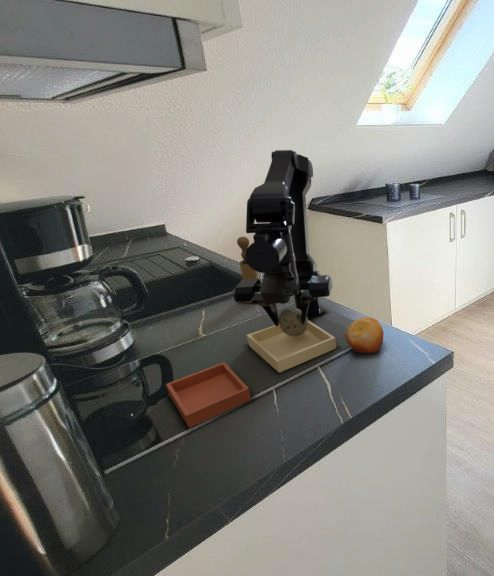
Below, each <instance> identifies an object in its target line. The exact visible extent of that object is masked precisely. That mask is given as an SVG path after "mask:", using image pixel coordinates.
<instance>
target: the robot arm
mask: <svg viewBox="0 0 494 576" xmlns="http://www.w3.org/2000/svg"><path fill="white" fill-rule="evenodd" d="M270 156H271V162H270V165H269V168H268V171H267V174H266V176H265V179H264V182H263V183H262V184H260V185H257V187H256V186H255V188H254V189H253V190H252V191H251V193H250V195H249V198H248V199H247V200H246V202H247V203H246V218H245V219H246V220H245V221H246V222H245V232H246V234H253V236H252V239H253V241H252V243H250V244H249V246H248V248H247V250H246V255H245V259H246V262H247V263H248V265H249V266H250V267H251V268H252V269H253V270H255V271H257V273H261V274H263V278H262V281H261V279H259V278H258V279H246V280H243V279H241V281H240V282H239V283H238V284H237V285H236V286H235V287H234V288H233V290H232V296H233V301H234V302H235V303H244V302H246V301H251V299H253V300H252V303H251V304H252V305H257V306H260V307H261V308H262V309H263V310H264V311H265V313H266V314H267V315H268V316H269V318H270V320H271V321H272V323H273V325H275V326H278V325H279V313H278V309H277V304H281V305H285V304H288V303H289V302H290V300H291V297H293V298H294V304H295V305H294V306H295V308H297V309H299V310H301V319H302V324H303V325H304V324H305V321H306V317H307V318H308V320H309V319H312V318H314V317H318V316H320V315H323V314H326V310H324V309H323V308H321V307H320V306H319V305H320V303H319V298H327V297H330V295H331V292H332V290H333V280H332V277H331V276H330V275H329V274H323V275H322V274H321V273H320V270H318V266H317V263H316V262H315V260H314V258H313V257H312V256H311V255H310V245H309V228H308V213H307V199H306V196H307V194H308V192H309V191H310V189H311V187H312V178H313V177H314V168H313V163H312V162H311V159H310V158H309V157H307V156H304V155H301V154H299V153H298V152H297V151H296V150H294V149H275V151H272V152H271V155H270ZM255 222H256V223H255Z"/></svg>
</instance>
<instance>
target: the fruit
mask: <svg viewBox="0 0 494 576" xmlns="http://www.w3.org/2000/svg"><path fill="white" fill-rule="evenodd" d="M344 336H345V340H346V342H347V344H348V345H349V347H350V348H351V350H353V351H354V352H355V353H358V354H359V353H360V354H376V353H377V352H378V351H380V349H381V348H382V345H383V342H384V330H383V327H382V325H381V323H380V322H379V321H378V319H376V318H375V317H371V316H370V317H369V316H367V317H360V318H358V319H355V320H354V321H353V322H351V323H350V324H349V325H348V327H347V329H346V332H345V334H344Z"/></svg>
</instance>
